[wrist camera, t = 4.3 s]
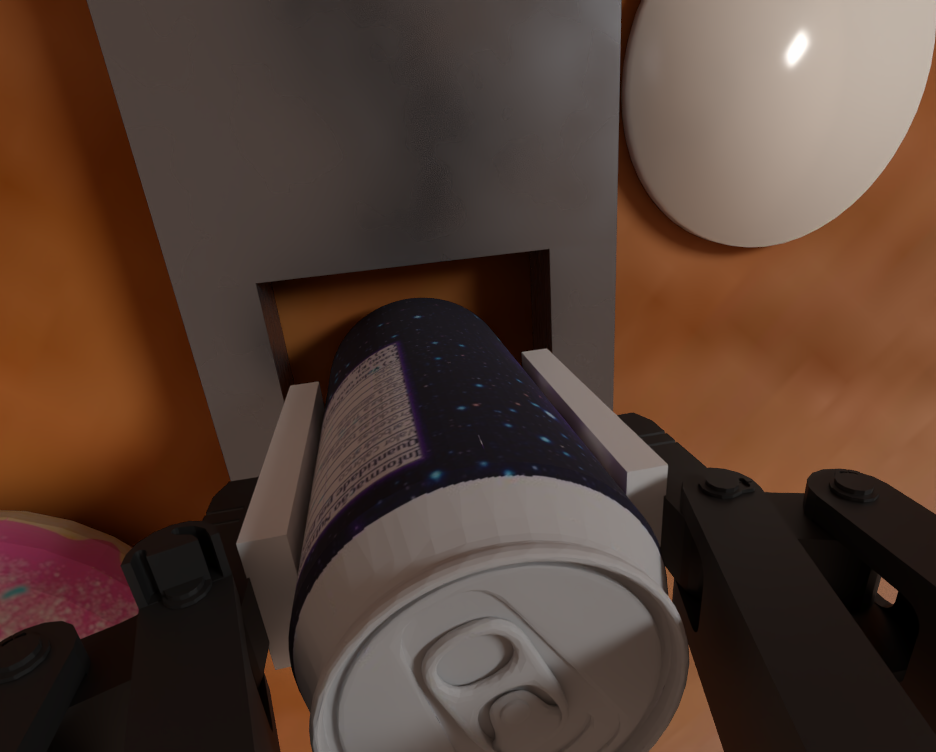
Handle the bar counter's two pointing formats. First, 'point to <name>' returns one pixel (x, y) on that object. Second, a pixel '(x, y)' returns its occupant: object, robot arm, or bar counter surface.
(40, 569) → the donut
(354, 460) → the beverage can
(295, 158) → the grey board with hole
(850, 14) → the coaster
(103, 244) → the bar counter surface
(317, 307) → the bar counter surface
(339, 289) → the bar counter surface
